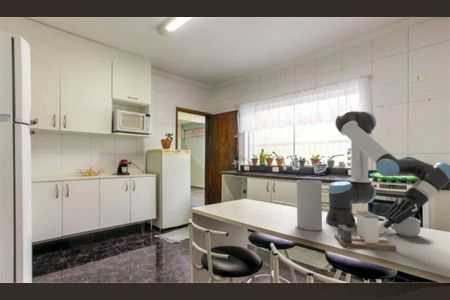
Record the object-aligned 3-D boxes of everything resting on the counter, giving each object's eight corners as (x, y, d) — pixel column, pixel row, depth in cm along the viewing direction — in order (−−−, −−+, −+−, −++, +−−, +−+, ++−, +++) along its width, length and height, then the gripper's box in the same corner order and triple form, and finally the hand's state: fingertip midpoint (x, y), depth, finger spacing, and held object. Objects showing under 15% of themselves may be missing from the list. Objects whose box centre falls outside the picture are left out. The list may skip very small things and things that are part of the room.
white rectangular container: (357, 235, 103) (356, 208, 104) (369, 236, 102) (368, 209, 103) (365, 243, 94) (365, 213, 95) (379, 244, 93) (378, 214, 94)
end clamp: (338, 235, 104) (337, 224, 104) (345, 235, 104) (344, 225, 104) (344, 241, 96) (343, 230, 96) (351, 242, 96) (351, 230, 96)
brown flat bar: (338, 237, 102) (338, 235, 102) (385, 240, 98) (384, 237, 98) (340, 239, 99) (340, 237, 99) (388, 242, 95) (388, 240, 96)
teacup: (421, 234, 109) (420, 218, 110) (420, 240, 101) (420, 223, 102) (386, 228, 119) (386, 213, 119) (383, 233, 111) (383, 217, 111)
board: (334, 237, 106) (334, 233, 106) (381, 239, 103) (381, 236, 103) (343, 247, 94) (343, 243, 95) (396, 250, 91) (396, 246, 91)
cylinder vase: (300, 222, 129) (299, 179, 130) (323, 226, 123) (322, 180, 124) (294, 228, 119) (294, 181, 119) (320, 232, 112) (319, 182, 113)
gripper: (439, 203, 88) (393, 243, 90) (416, 196, 101) (377, 232, 103) (423, 189, 89) (378, 230, 91) (403, 184, 102) (364, 220, 104)
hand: (377, 231), depth 97 cm, fingers closed
